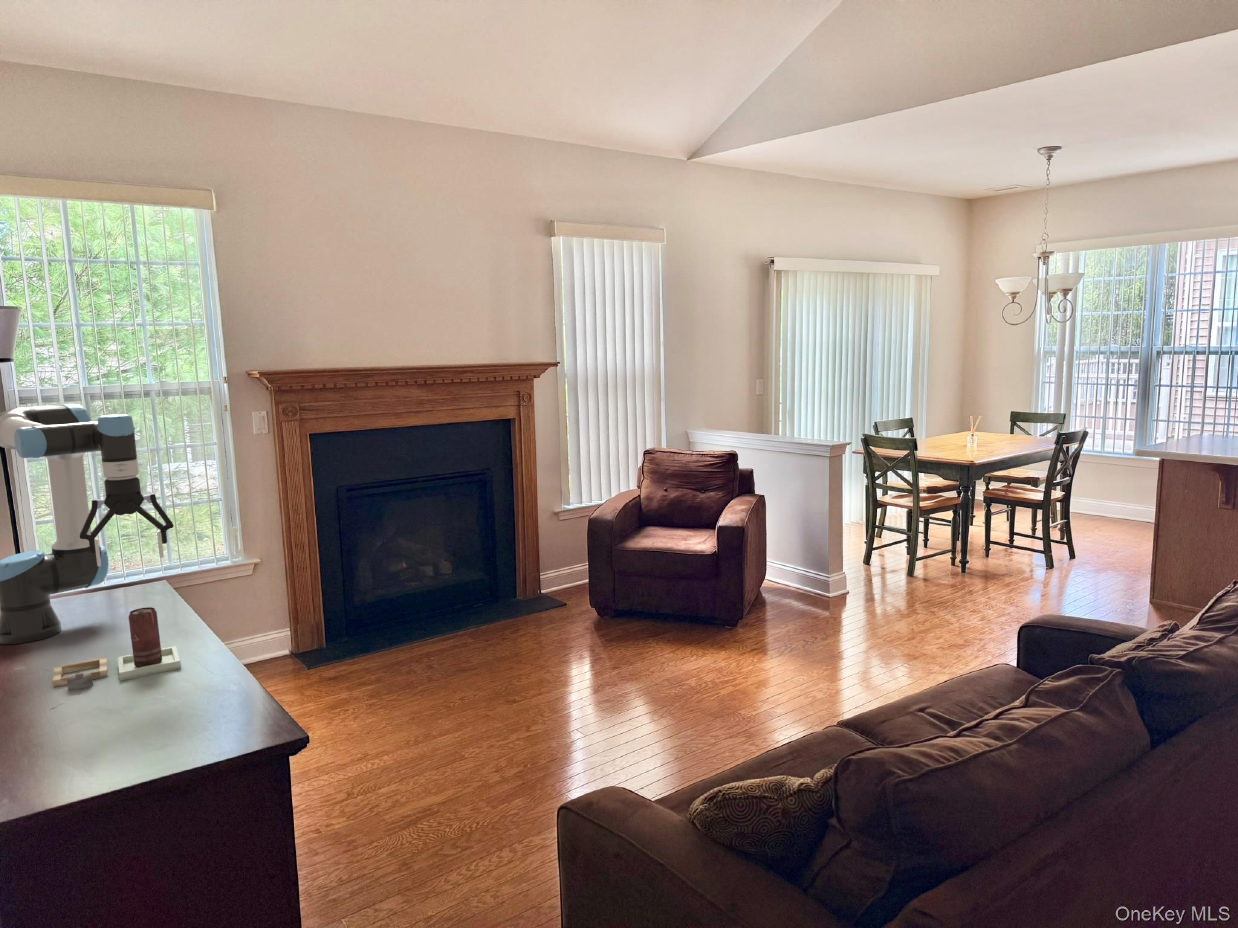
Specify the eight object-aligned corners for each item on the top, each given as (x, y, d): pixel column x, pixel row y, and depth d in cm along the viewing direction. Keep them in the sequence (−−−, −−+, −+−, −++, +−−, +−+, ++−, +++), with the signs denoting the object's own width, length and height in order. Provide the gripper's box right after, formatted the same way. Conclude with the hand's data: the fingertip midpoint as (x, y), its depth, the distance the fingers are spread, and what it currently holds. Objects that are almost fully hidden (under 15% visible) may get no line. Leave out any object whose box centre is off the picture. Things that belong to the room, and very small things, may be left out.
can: (151, 669, 206) (144, 614, 204) (128, 668, 207) (122, 613, 206) (168, 660, 212) (162, 606, 210) (147, 659, 213) (140, 606, 211)
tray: (118, 664, 212) (117, 657, 212) (176, 653, 219) (175, 645, 218) (120, 680, 201) (119, 672, 201) (180, 668, 208) (179, 660, 207)
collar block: (55, 672, 208) (53, 660, 208) (107, 662, 214) (105, 650, 213) (52, 696, 193) (50, 682, 193) (108, 684, 199) (106, 671, 198)
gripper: (60, 485, 197) (71, 572, 201) (179, 474, 210) (187, 556, 213) (61, 480, 204) (72, 565, 207) (177, 470, 217) (185, 550, 220)
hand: (131, 560), depth 210 cm, fingers open, 13 cm apart
